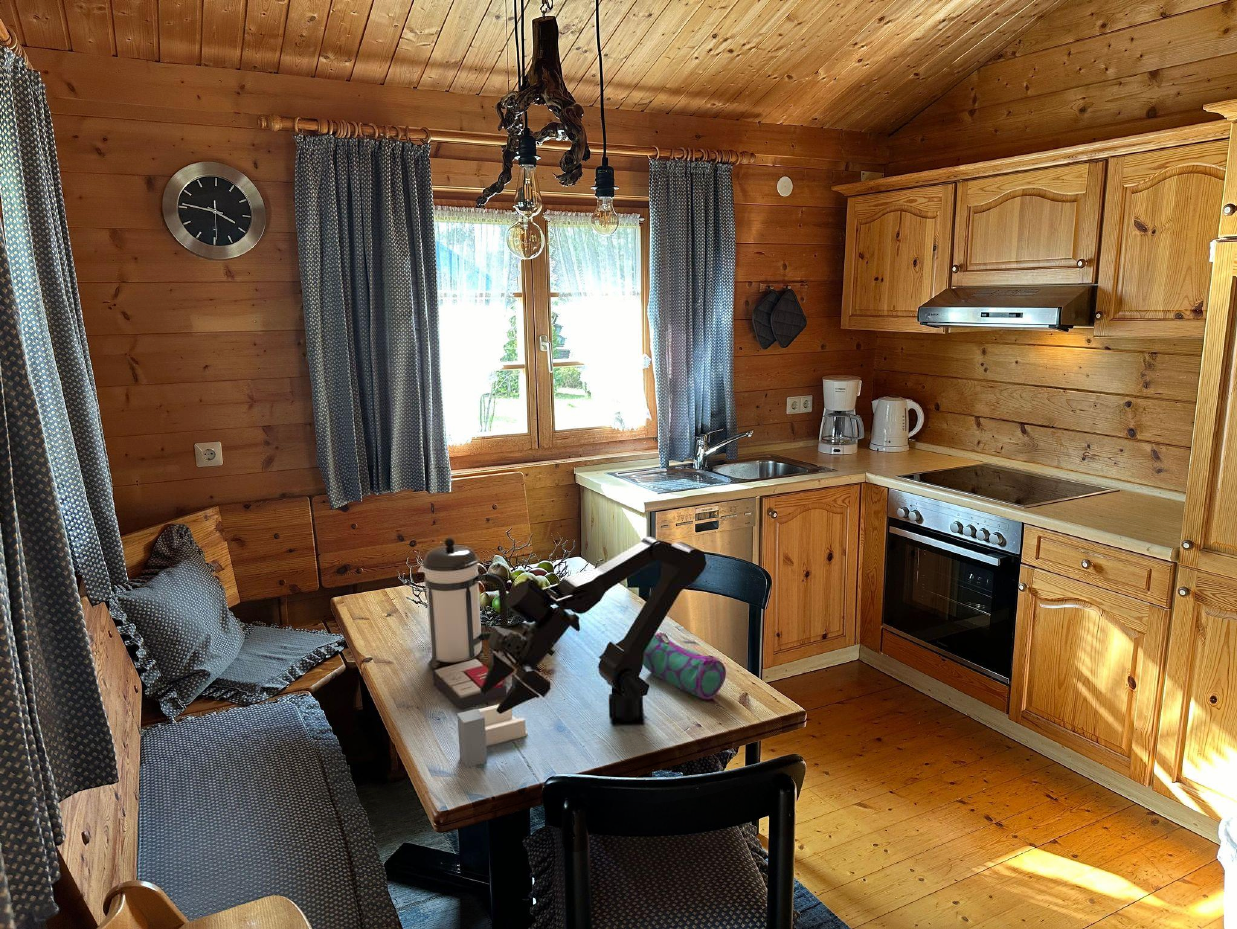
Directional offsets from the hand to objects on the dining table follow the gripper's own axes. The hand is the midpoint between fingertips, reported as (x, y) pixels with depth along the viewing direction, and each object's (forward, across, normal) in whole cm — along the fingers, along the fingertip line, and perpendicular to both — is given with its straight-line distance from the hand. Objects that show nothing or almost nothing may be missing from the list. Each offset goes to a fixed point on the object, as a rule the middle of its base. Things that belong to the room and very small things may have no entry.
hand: (489, 702), depth 163 cm
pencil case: (-26, -8, +40) cm, 48 cm away
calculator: (+5, -28, +11) cm, 31 cm away
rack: (+5, -8, +10) cm, 14 cm away
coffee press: (+2, -46, +14) cm, 47 cm away
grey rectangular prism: (+10, 0, +5) cm, 11 cm away
